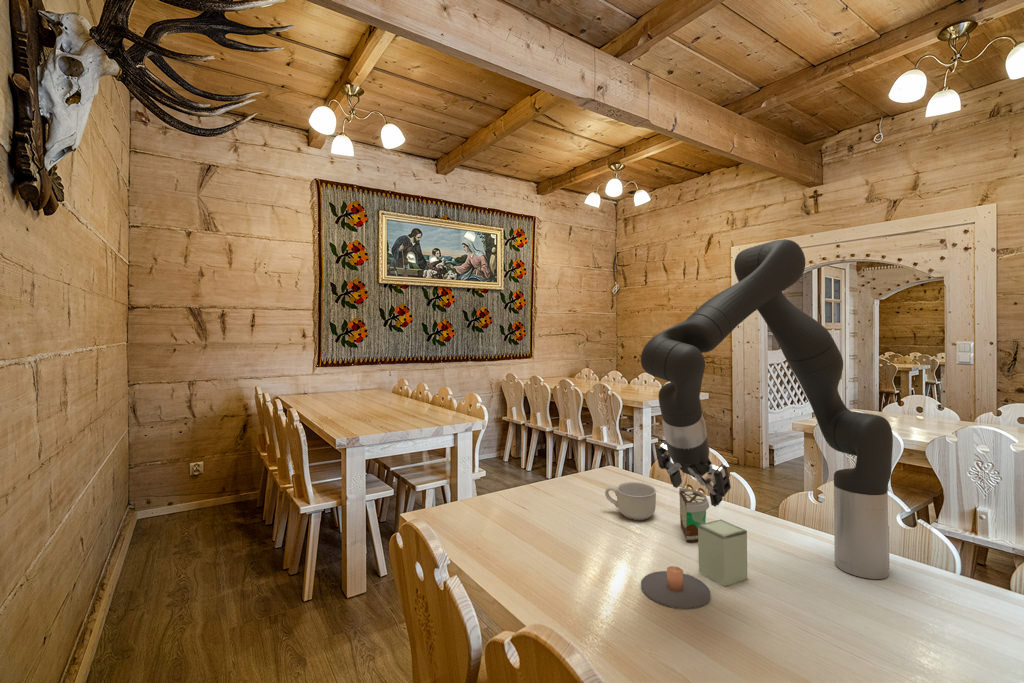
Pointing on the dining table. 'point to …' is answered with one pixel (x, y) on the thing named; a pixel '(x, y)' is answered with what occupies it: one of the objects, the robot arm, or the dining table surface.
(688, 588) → the mat
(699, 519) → the food container
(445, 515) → the dining table surface
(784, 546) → the dining table surface
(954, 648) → the dining table surface
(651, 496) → the teacup
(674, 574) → the pillar candle
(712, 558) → the upright green box
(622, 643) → the dining table surface
